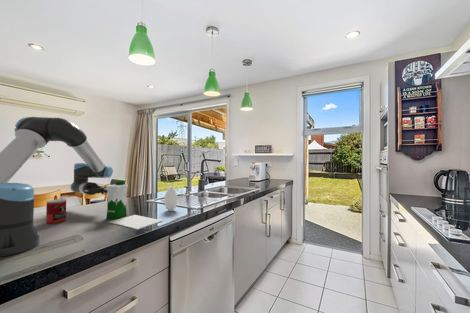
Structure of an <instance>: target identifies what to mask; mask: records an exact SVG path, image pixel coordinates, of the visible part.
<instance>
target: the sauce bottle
mask: <svg viewBox="0 0 470 313" xmlns="http://www.w3.org/2000/svg"><path fill="white" fill-rule="evenodd" d="M172 183H173V182H171V183H170V186H169V187H168V189H167V190H166V192H165V196H164V199H163V200H164V201H163V203H164V207H165V209H166V210H167V211H169V212H173V211H174V210H175V209H176V208H177V206H178V194H177V191H176V189H175V188H174V186H172V185H173V184H172Z"/></svg>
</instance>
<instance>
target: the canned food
mask: <svg viewBox="0 0 470 313" xmlns="http://www.w3.org/2000/svg"><path fill="white" fill-rule="evenodd" d="M45 212H46V216H45V217H46V219H45V221H46V224H47V225H58V224H61V223H64V222H66V219H67V199H66V198H65V199H64V198H58V199H57V198H56V199H55V198H54V199H49V200H46V211H45Z"/></svg>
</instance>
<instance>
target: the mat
mask: <svg viewBox="0 0 470 313" xmlns="http://www.w3.org/2000/svg"><path fill="white" fill-rule="evenodd" d="M163 221H164V220H162V219H159V218H157V219H156V218H152V217H147V216H143V215H138V214H133V215H129V216H126V217H123V218H120V219H117V220H116V219H112V220H110V221H108V223H109V224H114V225H116V226H121V227H124V228H129V229H132V230H136V231H138V230H140V229H141V230H142V229H144V228H148V227H150V226H153V225H156V224H159V223H162V222H163Z"/></svg>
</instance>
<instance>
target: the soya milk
mask: <svg viewBox="0 0 470 313" xmlns="http://www.w3.org/2000/svg"><path fill="white" fill-rule="evenodd" d="M128 186H129V184H125V180H115V183H114V184H109V185H106V188H107V193H108V194H107V193H106V194H107V209H106V210H107V211H106V220H107V219H108V220H117V219H121V218H125V217H128V216H127V192H128Z"/></svg>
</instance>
